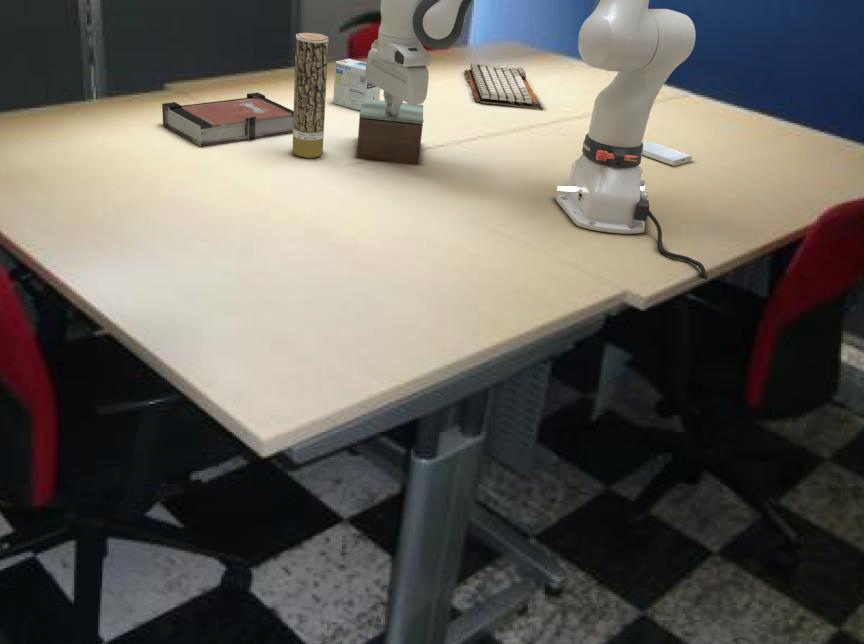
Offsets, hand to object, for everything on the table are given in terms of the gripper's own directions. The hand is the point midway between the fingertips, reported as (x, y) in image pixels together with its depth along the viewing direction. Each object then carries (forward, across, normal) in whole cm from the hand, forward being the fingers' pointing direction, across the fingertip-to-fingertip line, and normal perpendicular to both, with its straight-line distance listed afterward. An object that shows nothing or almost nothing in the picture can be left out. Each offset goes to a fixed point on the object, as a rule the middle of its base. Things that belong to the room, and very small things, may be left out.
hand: (391, 113), depth 200 cm
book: (+10, -28, -26) cm, 39 cm away
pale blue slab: (+1, -3, +2) cm, 4 cm away
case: (+10, -4, +2) cm, 11 cm away
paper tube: (+10, -7, -17) cm, 21 cm away
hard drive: (+10, +19, +69) cm, 72 cm away
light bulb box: (+10, -38, +13) cm, 42 cm away
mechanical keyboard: (+10, -44, +66) cm, 80 cm away
